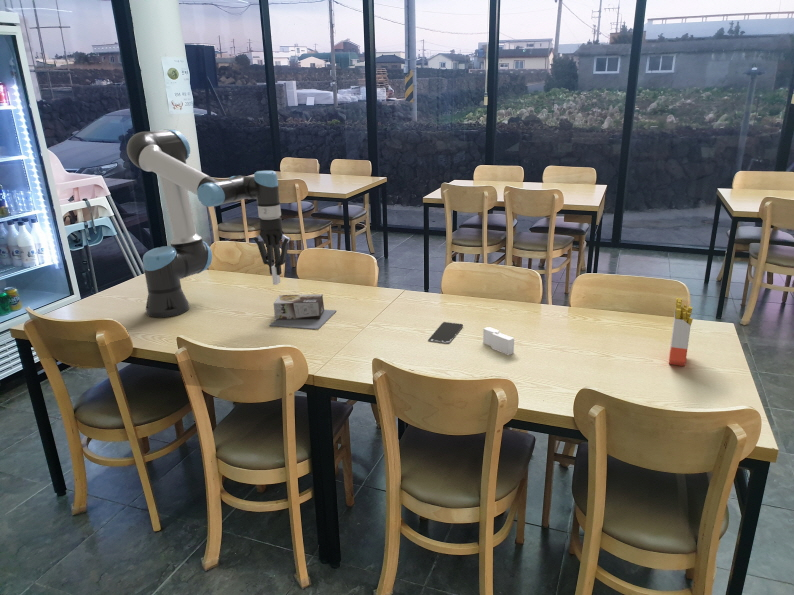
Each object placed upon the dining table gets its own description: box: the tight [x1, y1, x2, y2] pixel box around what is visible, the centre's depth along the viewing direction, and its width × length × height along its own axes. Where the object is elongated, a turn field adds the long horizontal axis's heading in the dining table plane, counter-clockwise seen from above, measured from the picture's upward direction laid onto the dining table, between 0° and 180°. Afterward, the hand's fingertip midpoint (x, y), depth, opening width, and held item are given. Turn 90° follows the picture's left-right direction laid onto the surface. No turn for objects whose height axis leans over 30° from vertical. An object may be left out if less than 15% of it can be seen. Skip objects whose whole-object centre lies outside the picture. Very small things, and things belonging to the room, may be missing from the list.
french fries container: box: [668, 297, 694, 367], centre depth 173 cm, size 5×11×18 cm, turn 156°
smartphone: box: [427, 321, 464, 345], centre depth 200 cm, size 7×1×16 cm
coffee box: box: [273, 293, 325, 320], centre depth 218 cm, size 9×6×16 cm
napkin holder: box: [482, 326, 515, 356], centre depth 188 cm, size 15×11×6 cm
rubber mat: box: [269, 309, 337, 330], centre depth 217 cm, size 18×18×1 cm
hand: (276, 283), depth 215 cm, fingers closed
